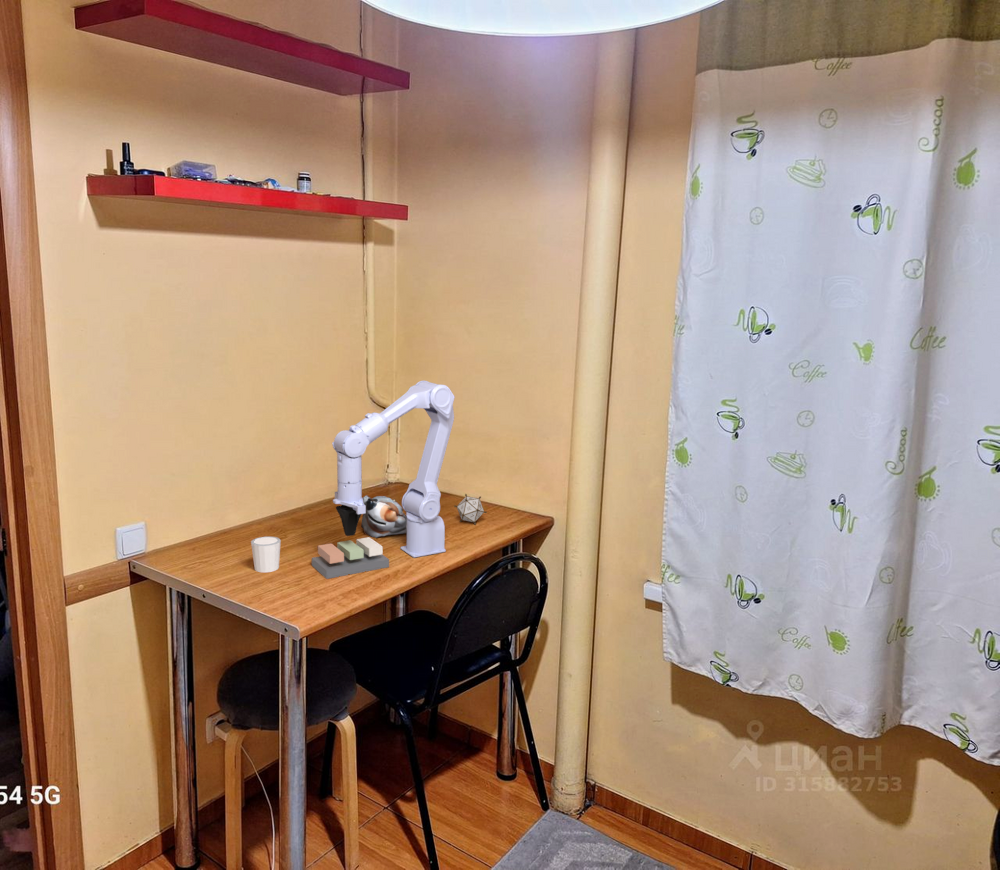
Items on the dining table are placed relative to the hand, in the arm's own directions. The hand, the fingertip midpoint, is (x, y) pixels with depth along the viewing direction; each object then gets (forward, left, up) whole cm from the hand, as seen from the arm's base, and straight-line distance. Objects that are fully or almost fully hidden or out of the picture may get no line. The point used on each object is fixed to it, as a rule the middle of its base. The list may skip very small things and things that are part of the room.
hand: (349, 534), depth 193 cm
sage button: (0, 0, -5) cm, 5 cm away
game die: (-44, -17, -8) cm, 48 cm away
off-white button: (-5, 0, -5) cm, 7 cm away
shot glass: (+18, -9, -8) cm, 22 cm away
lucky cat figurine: (-19, -18, -8) cm, 27 cm away
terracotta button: (+5, 0, -5) cm, 7 cm away
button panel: (0, 0, -8) cm, 8 cm away
